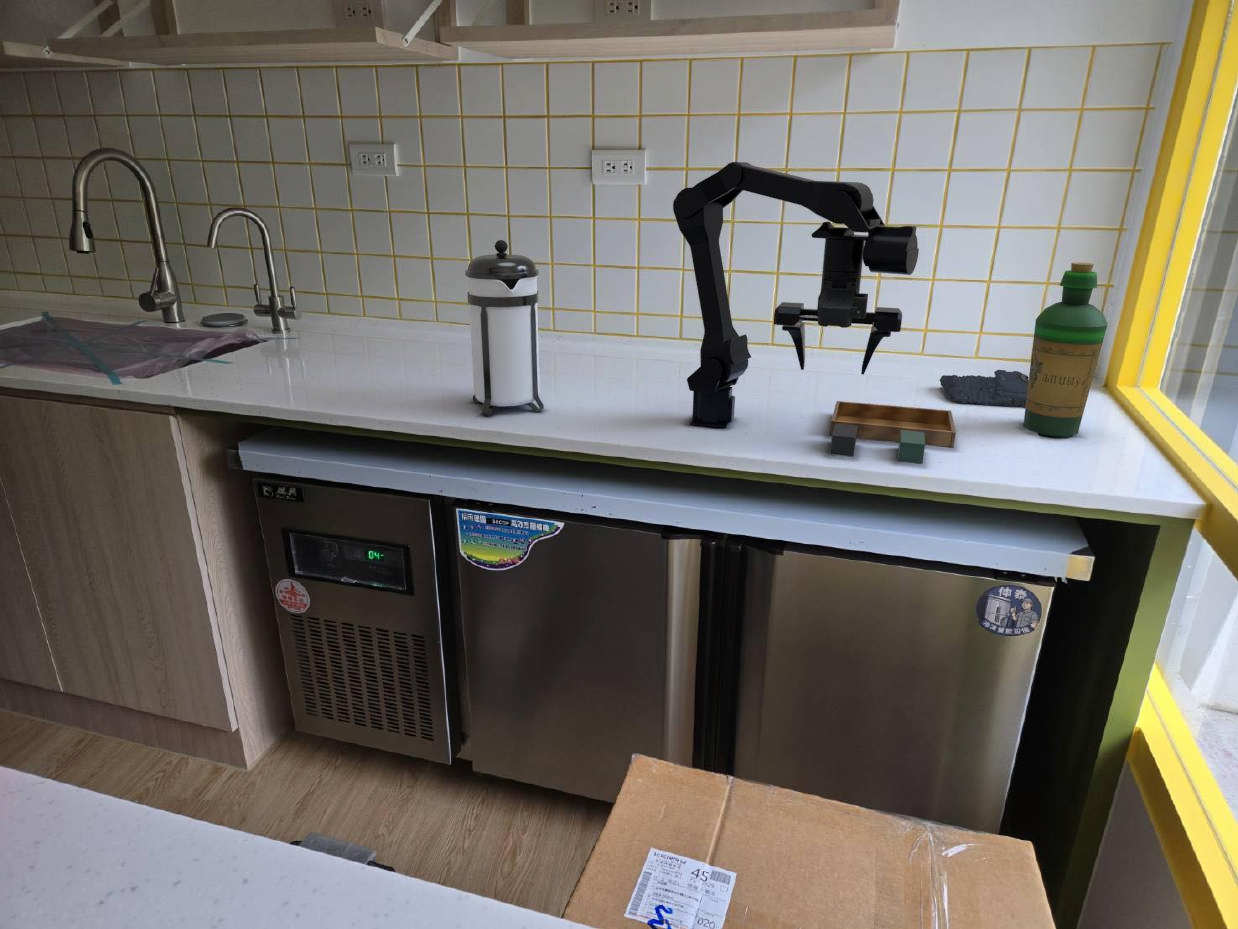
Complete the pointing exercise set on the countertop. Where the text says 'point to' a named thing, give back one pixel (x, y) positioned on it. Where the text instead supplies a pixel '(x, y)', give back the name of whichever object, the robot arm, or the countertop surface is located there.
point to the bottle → (1064, 356)
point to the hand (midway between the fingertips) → (832, 371)
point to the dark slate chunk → (988, 389)
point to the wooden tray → (895, 422)
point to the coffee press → (504, 330)
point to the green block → (911, 446)
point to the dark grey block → (843, 440)
